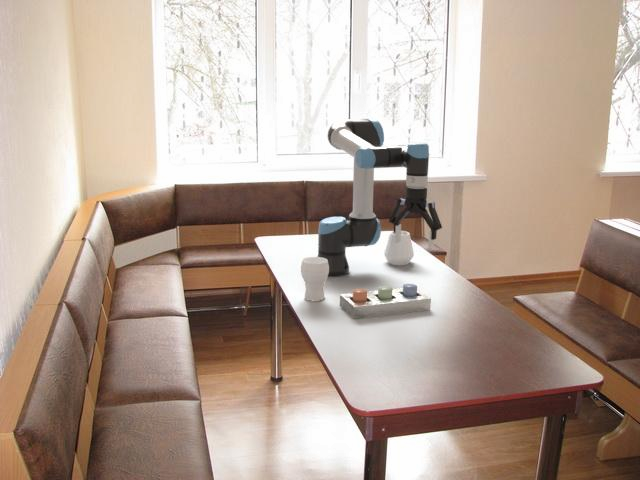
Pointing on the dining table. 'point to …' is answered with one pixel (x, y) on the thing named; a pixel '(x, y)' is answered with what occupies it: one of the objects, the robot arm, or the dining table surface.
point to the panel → (384, 304)
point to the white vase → (399, 249)
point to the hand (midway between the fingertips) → (414, 245)
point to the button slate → (409, 290)
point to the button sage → (385, 293)
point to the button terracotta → (359, 295)
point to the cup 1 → (314, 277)
